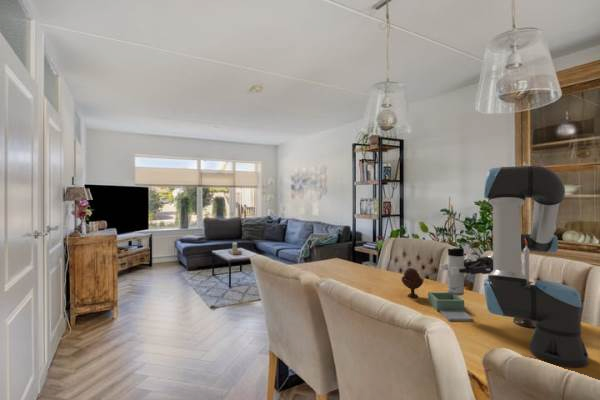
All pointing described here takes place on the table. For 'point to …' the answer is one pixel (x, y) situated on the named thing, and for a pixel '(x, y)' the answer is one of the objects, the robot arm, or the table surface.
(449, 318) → the slate tile
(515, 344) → the table surface
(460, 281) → the travel mug
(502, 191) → the robot arm
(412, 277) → the ice cream bowl
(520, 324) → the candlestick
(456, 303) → the green frame
